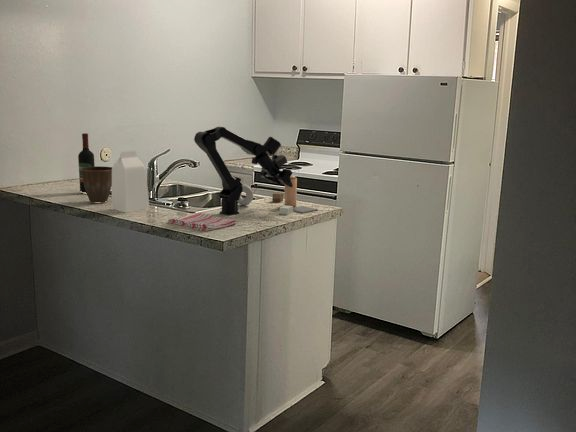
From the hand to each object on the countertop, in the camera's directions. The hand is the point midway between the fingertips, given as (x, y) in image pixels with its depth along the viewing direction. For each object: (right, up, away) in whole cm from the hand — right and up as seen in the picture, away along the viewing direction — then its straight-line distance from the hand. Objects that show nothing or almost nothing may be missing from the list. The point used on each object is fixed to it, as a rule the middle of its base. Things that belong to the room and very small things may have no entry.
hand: (286, 185), depth 280 cm
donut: (-20, -10, +2) cm, 22 cm away
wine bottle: (-101, -3, +27) cm, 104 cm away
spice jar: (+2, -9, +4) cm, 10 cm away
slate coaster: (+7, -12, -6) cm, 15 cm away
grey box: (0, -13, -13) cm, 18 cm away
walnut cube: (-4, -7, +14) cm, 16 cm away
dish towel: (-34, -18, -36) cm, 53 cm away
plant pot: (-88, -8, +4) cm, 88 cm away
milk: (-69, -11, -11) cm, 71 cm away
